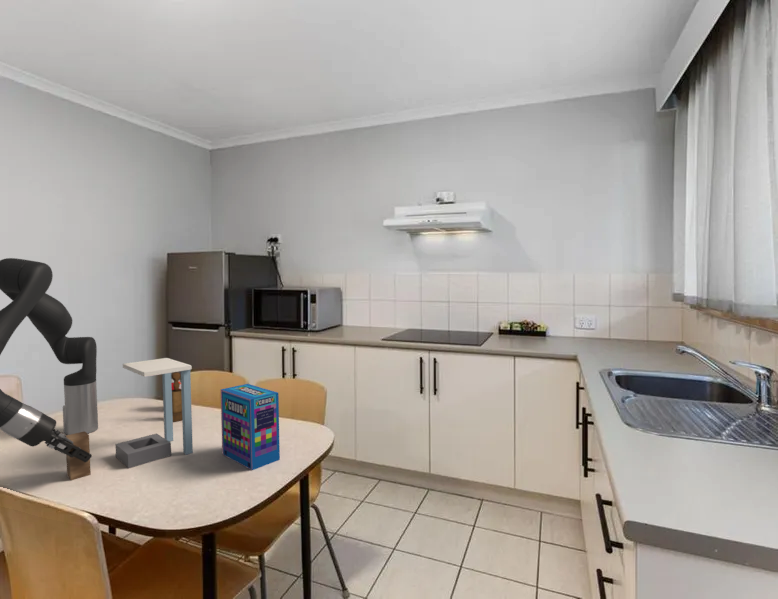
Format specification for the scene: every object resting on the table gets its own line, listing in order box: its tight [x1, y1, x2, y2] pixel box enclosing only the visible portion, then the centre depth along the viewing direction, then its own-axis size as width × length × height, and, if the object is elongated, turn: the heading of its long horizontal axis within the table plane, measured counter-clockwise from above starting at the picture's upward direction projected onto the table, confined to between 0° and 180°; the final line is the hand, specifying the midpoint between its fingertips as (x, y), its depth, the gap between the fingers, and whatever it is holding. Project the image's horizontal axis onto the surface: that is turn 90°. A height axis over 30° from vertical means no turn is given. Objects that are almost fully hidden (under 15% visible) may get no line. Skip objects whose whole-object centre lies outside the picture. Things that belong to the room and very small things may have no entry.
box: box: [220, 383, 281, 471], centre depth 127 cm, size 17×9×20 cm, turn 49°
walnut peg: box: [65, 431, 91, 481], centre depth 116 cm, size 4×4×11 cm
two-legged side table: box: [122, 357, 194, 455], centre depth 131 cm, size 13×19×27 cm
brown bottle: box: [171, 371, 182, 423], centre depth 162 cm, size 7×6×18 cm
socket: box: [115, 433, 172, 469], centre depth 128 cm, size 12×12×4 cm
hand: (86, 456), depth 117 cm, fingers closed on walnut peg, 4 cm apart
